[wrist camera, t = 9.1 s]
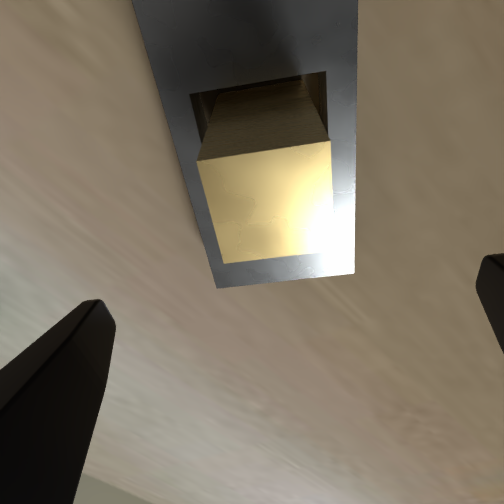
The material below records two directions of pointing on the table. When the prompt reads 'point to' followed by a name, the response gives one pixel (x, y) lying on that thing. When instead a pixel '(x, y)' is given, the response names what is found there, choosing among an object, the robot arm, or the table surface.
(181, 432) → the table surface
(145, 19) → the rail
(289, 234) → the brass peg
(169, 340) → the table surface
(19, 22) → the table surface
